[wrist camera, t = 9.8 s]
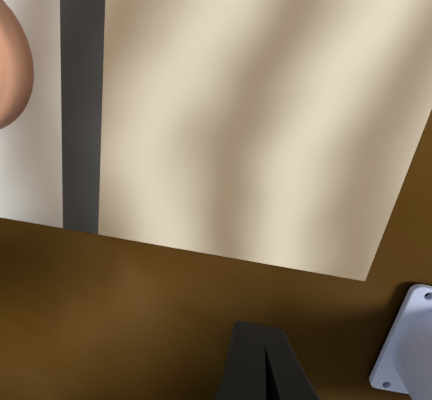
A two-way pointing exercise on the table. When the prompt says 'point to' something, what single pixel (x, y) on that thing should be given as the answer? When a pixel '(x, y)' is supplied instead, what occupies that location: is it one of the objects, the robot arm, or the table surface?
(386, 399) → the table surface
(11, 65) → the puck
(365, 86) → the board
